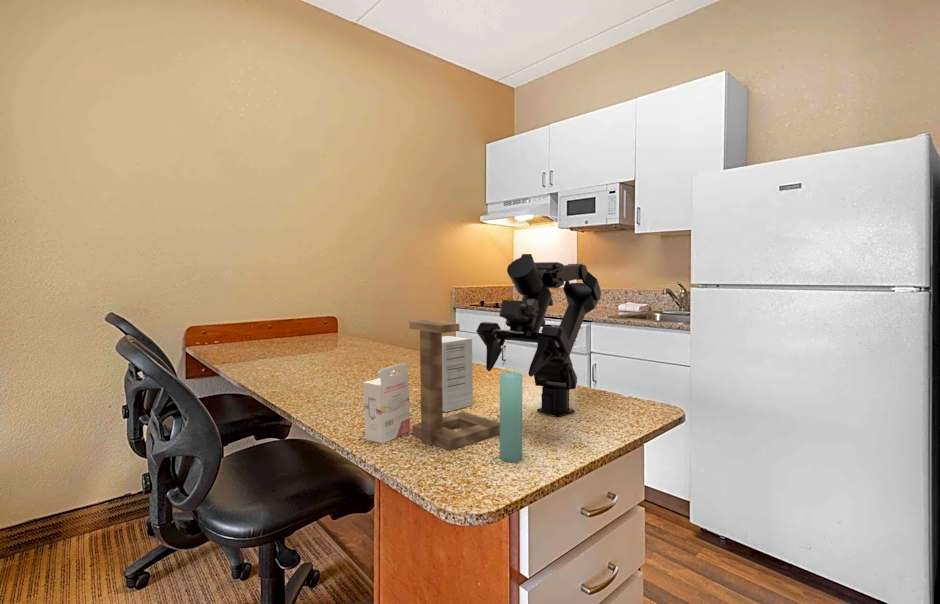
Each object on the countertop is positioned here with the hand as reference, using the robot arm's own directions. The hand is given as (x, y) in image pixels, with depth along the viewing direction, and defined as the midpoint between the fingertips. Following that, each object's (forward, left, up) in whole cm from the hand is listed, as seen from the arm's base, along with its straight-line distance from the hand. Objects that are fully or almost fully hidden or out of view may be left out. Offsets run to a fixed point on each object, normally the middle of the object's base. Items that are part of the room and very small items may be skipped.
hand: (508, 372), depth 92 cm
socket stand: (+4, -10, -14) cm, 18 cm away
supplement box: (-8, -28, -14) cm, 32 cm away
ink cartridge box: (+15, -19, -14) cm, 28 cm away
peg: (+5, +6, -14) cm, 16 cm away
